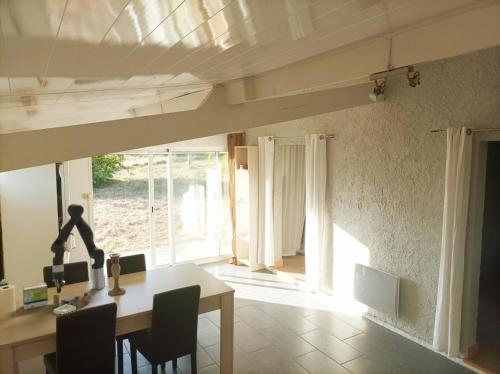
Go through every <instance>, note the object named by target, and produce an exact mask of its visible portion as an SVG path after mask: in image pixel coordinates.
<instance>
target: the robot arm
mask: <svg viewBox="0 0 500 374" xmlns="http://www.w3.org/2000/svg"><path fill="white" fill-rule="evenodd" d="M84 211H85V210H84V207H83V206H82V205H81V204H77V203H76V204H75V203H71V204H69V205H68V207H67V214H68V215H69V217H70V218H69V220H67V222H66V223H65V224H64V225H63V227H62V228H61V230H60V232H59V233H58V236H57V238H55V239H54V241H53V243H52V244H51V246H50V251H51V252H52V253H53V254H54V257H53V258H52V278H53V279H52V280H51V283H52V285H53V286H54V288H55V289H56V293H57V294H60V293H62V288H64V286H65V284H66V283H67V281H66V280H64V276H65V267H64V255H65V252H66V251H65V246H64V245H63V244H64V243H66V242H67V241H68V239H69V237H70V236H71V233H72V231H73V229H74V227H76V229H77V232H78V234H79V236H80V238H81V240H82V241H83V244H84V246H85V247H86V250H87V253H88V256H89V258H90V259H92V260H94V261H93V263H92V264H91V282H92V283H91V285H92V290H102V289H104V288H105V287H106V275H105V273H104V272H105V271H104V270H105V269H104V265H105V255H106V254H105V251H104V249H102V248H99V247H97V246H96V244H95V242H94V232H93V229H92V228H91V226H90V225H89V224H88V223H87V221H86V220H85V219H84V218H83V217H82V216H83V214H84V213H85V212H84Z"/></svg>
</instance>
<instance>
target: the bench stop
mask: <svg viewBox="0 0 500 374" xmlns="http://www.w3.org/2000/svg"><path fill="white" fill-rule="evenodd" d="M90 303H91V295H90V294H89V292H88V291H86V292H83V295H82V296H80V295H75V300H74V304H73V306H76V310H78V309H79V308H82V307H84V306H85V305H88V304H90Z"/></svg>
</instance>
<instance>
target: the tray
mask: <svg viewBox="0 0 500 374" xmlns="http://www.w3.org/2000/svg"><path fill="white" fill-rule="evenodd" d="M71 311H73V312H75V311H77V309H76V306H74V305H73V304H72V305H67V304H65V305H60V307H58V308H54V309H53V314H54V313H55V315H59V314H64V313H68V312H71ZM71 313H72V312H71Z"/></svg>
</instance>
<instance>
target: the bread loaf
mask: <svg viewBox="0 0 500 374" xmlns="http://www.w3.org/2000/svg"><path fill="white" fill-rule="evenodd" d="M52 298H53V299H52V300H53V308H54V309H56V308H58V307H61V305H60V294H59V293H57V294H53V297H52Z"/></svg>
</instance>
